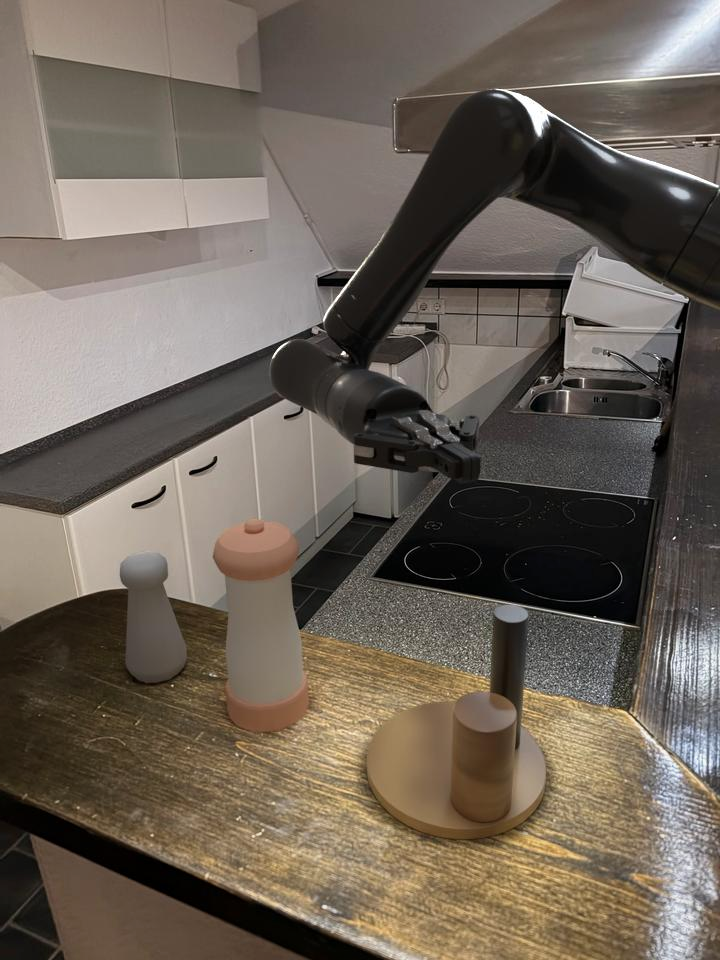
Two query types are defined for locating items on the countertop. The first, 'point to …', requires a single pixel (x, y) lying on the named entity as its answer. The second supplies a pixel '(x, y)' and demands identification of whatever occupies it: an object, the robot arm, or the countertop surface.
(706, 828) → the countertop surface
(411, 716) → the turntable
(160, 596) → the salt shaker
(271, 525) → the pepper shaker
